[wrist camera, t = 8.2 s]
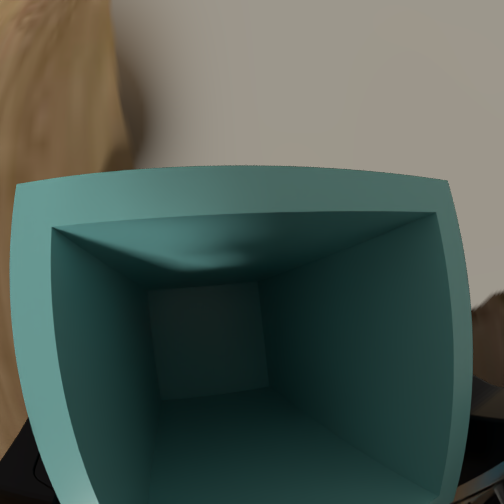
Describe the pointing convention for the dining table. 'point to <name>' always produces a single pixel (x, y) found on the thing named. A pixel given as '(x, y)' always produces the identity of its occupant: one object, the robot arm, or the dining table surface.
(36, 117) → the dining table surface
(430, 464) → the teal crate
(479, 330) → the dining table surface
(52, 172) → the dining table surface
